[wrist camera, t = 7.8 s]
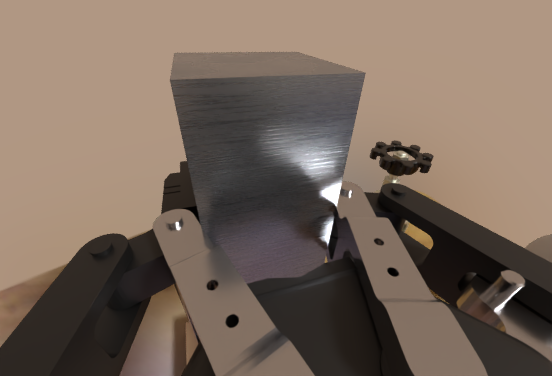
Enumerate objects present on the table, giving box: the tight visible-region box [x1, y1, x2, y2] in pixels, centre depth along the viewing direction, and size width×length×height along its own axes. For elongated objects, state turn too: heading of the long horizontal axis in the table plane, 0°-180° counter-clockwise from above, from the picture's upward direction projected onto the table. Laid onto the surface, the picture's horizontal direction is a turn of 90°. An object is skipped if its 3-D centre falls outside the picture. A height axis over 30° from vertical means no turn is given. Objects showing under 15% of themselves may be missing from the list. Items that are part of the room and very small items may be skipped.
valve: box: [370, 141, 433, 233], centre depth 31 cm, size 7×7×12 cm
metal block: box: [170, 52, 365, 284], centre depth 11 cm, size 4×4×12 cm
